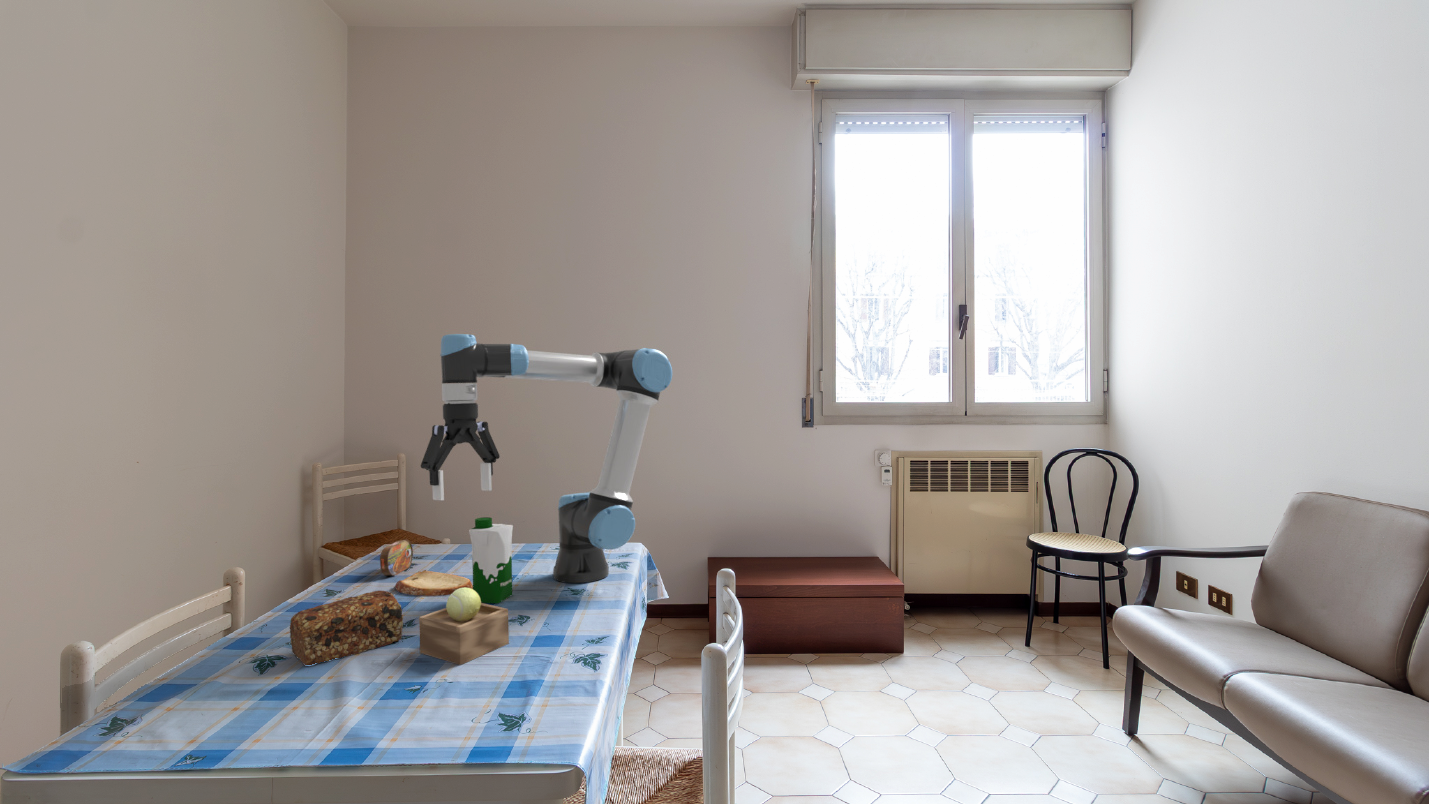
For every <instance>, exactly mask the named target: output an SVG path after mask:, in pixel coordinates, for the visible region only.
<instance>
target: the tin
mask: <svg viewBox="0 0 1429 804" xmlns="http://www.w3.org/2000/svg"><path fill="white" fill-rule="evenodd" d="M413 550H414V549H413V545H412V543H411V541H410V540H408V539H403V540H402V539H401V540H397V541H395V542H393V543H391V544H390V545H387V546H385V547H384V548H383V549H382V551H381V552H380V555H379V563H380V572H381V574H382V575H383V576H386V577H394V576H395V575H396V576H398V575H399V574H401V573H402V572H404V571H405V570H407V569H409V568H410V566H411V564H412V562H413V557H414V551H413ZM396 576H395V577H396Z"/></svg>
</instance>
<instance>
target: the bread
mask: <svg viewBox="0 0 1429 804" xmlns="http://www.w3.org/2000/svg"><path fill="white" fill-rule="evenodd" d="M289 623H290V624H289V633H290V635H289V638H290V641H289V642H290V645H291V652H292V653H294V654H295V655H296V656H297V657H298V658H300V659H299V661H300V662H301V661H302V663H301V664H303V663H304V664H305V665H312V664H315V663H318V664H321V663H320V662H324V661H329V660H332V659H335V658H340V659H343V658H344V656H346V657H349V656H352V655H351V654H353V655H357V654H361V653H363V652H366V651H368V650H373V649H377V648H382V647H384V646H387V645H390V644H392V643H393V642H395V643H396V642H399V641H401V640H402V637H403V625H404V616H403V609H402V605H401V604H400V603H399V602H398V600H397V598H396V597H395V596H394V594H393V593H391V592H390V591H386V590H374V591H370V592H364V593H362V594H358V595H356V596H348V597H345V598H343V599H337V600H336V601H333V602H329V603H325V604H321V605H317V606H314V607H310V608H306V609H303V610H300V611H298V612H297V613H294V615H292V617H290V622H289ZM294 654H293V655H294ZM295 655H294V656H295ZM296 656H295V657H296ZM342 657H343V658H342ZM335 660H336V659H335ZM332 661H333V660H332ZM329 662H330V661H329ZM324 663H325V662H324ZM304 664H303V665H304ZM305 665H304V666H305Z"/></svg>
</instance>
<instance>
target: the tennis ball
mask: <svg viewBox="0 0 1429 804" xmlns="http://www.w3.org/2000/svg"><path fill="white" fill-rule="evenodd" d="M480 605H481V599H480V597H479V595H478V594H477V592H476V591H474V590H473V589H471V588H466V587H464V588H460V589H457V590H455V591H454V592H453V593H452V594H451V595H448V597H447V601H446V605H445V608H446V609H447V612H448V614H449V616H450V617H451V618H453V619H454V620H456V621H461V622H464V621H468V620H470V619H471V618H473V617H474V616H476V614H477V613H478V611H479V609H480Z"/></svg>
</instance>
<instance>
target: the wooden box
mask: <svg viewBox="0 0 1429 804" xmlns="http://www.w3.org/2000/svg"><path fill="white" fill-rule="evenodd" d="M418 621H419V622H418V623H419V624H418V625H419V653H420V654H422V655H427V656H429V657H433V658H435V659H439V660H442V661H446V662H450V663H453V664H456V665H460V666H461V665H464V664H466V663H468V662H471V661H472V660H475V659H478V658H479V657H482V656H485V655H486V654H489V653H491V652H494V651H495V650H497V649H500V648H502V647H504V646H506V645H509V644H510V637H509V635H510V633H509V632H510V631H509V628H510V627H509V609H508V608H505V607H501V606H497V605H492V604H489V603H481V605H480V609H479V611H478V613H477V614H476V616H474V617H473V618H471V619H470V620H468V621H464V622H461V621H456V620H454V619H453V618H451V617H450V616H449V614H448V612H447V609H446V607H444V608H442V609H439V610H436V611H433V612H430V613H427V614H424V615H421V616H419V618H418Z"/></svg>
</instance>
